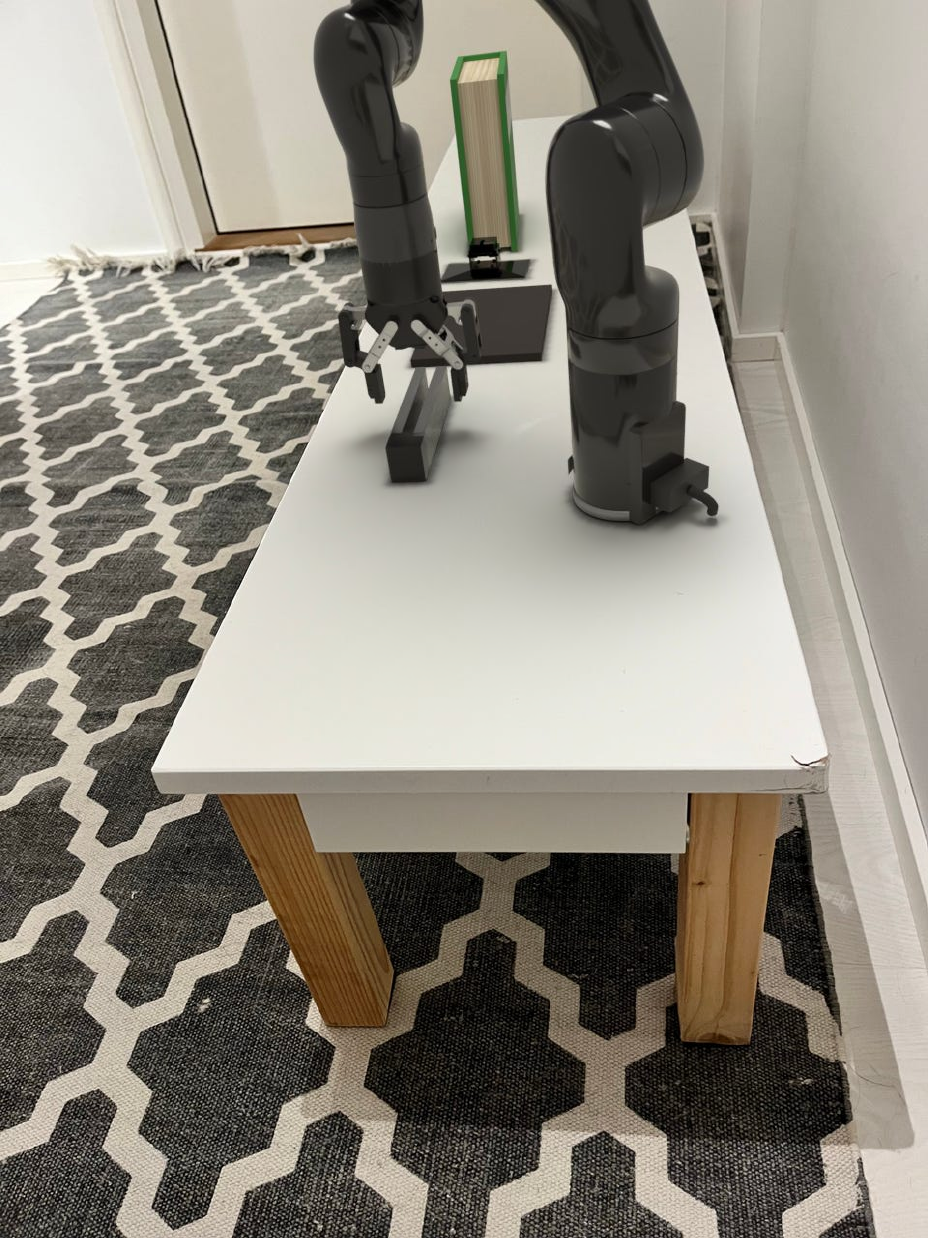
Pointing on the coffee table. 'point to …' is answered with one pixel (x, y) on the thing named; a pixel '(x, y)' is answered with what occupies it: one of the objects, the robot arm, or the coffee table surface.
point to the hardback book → (486, 147)
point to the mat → (499, 324)
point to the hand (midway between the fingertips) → (419, 399)
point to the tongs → (418, 426)
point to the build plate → (485, 264)
